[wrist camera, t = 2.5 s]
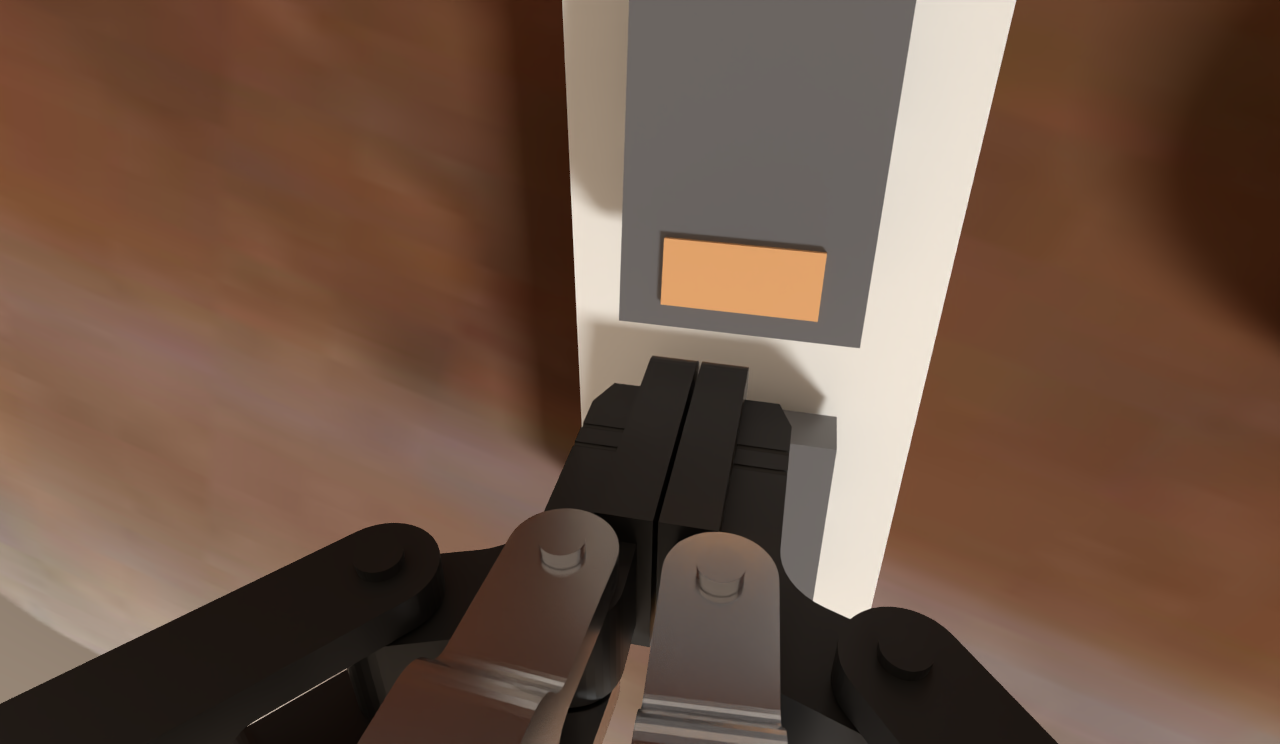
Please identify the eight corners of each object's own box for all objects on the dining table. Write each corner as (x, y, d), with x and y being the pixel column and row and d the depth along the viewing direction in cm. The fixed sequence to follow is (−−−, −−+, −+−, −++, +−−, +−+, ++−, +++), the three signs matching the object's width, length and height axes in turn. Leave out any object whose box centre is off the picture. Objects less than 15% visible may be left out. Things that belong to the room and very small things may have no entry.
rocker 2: (836, 416, 21) (836, 452, 19) (803, 629, 24) (801, 676, 22) (647, 391, 22) (631, 423, 20) (637, 600, 25) (621, 643, 23)
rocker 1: (913, -35, 15) (923, -41, 14) (857, 318, 18) (860, 350, 16) (651, -43, 16) (629, -50, 14) (637, 294, 19) (617, 322, 17)
